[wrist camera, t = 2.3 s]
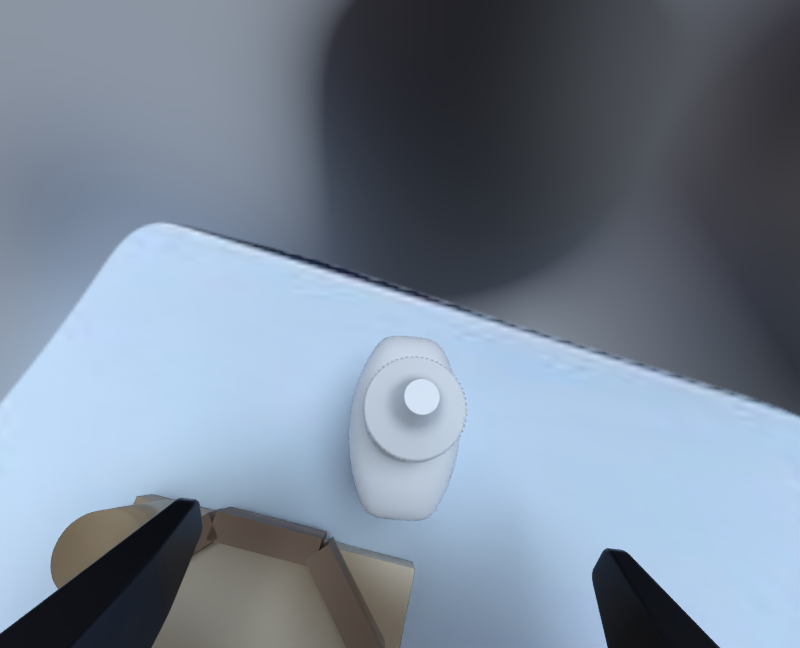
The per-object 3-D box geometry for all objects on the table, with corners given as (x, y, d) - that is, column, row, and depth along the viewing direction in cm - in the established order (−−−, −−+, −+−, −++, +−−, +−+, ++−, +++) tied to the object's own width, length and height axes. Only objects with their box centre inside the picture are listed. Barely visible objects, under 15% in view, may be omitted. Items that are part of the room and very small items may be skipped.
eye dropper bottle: (323, 461, 18) (235, 458, 7) (389, 364, 20) (407, 237, 9) (400, 516, 18) (443, 615, 6) (462, 412, 19) (581, 343, 8)
